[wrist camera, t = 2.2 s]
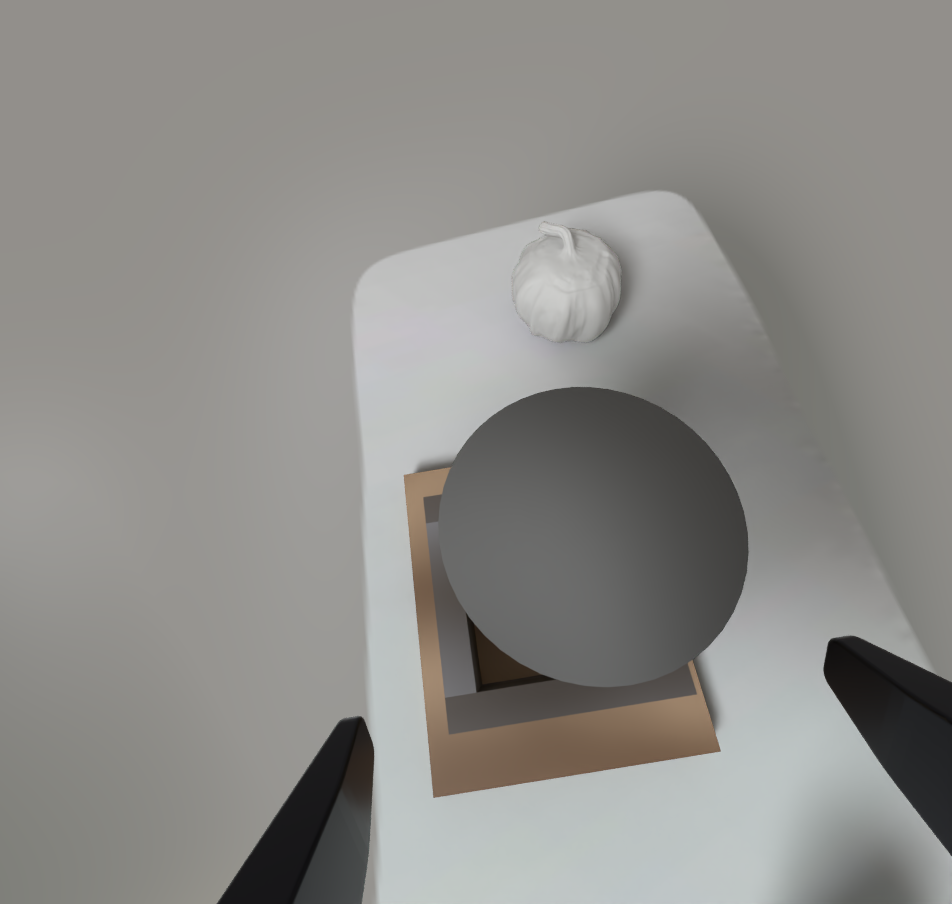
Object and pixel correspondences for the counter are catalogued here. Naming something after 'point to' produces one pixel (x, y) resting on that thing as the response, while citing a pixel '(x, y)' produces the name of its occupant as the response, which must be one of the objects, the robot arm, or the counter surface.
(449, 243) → the counter surface
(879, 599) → the counter surface
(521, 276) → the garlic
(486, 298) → the counter surface
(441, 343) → the counter surface
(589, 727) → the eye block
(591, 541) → the grey-topped tan cylinder
